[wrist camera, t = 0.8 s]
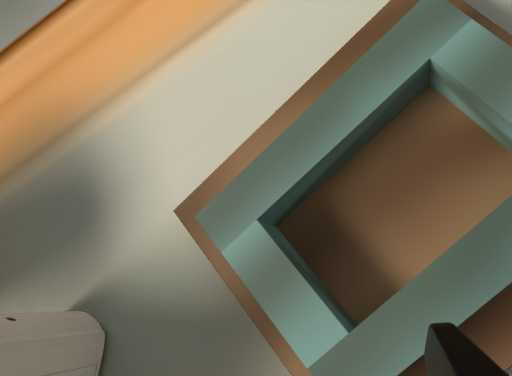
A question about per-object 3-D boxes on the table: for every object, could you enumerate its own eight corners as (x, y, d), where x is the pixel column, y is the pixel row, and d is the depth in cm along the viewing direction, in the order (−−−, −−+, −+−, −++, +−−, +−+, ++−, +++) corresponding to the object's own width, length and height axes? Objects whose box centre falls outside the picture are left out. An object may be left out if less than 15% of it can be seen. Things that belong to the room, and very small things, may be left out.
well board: (707, 200, 16) (785, 175, 13) (371, 465, 19) (355, 508, 15) (421, -10, 22) (418, -69, 18) (188, 215, 24) (143, 202, 20)
